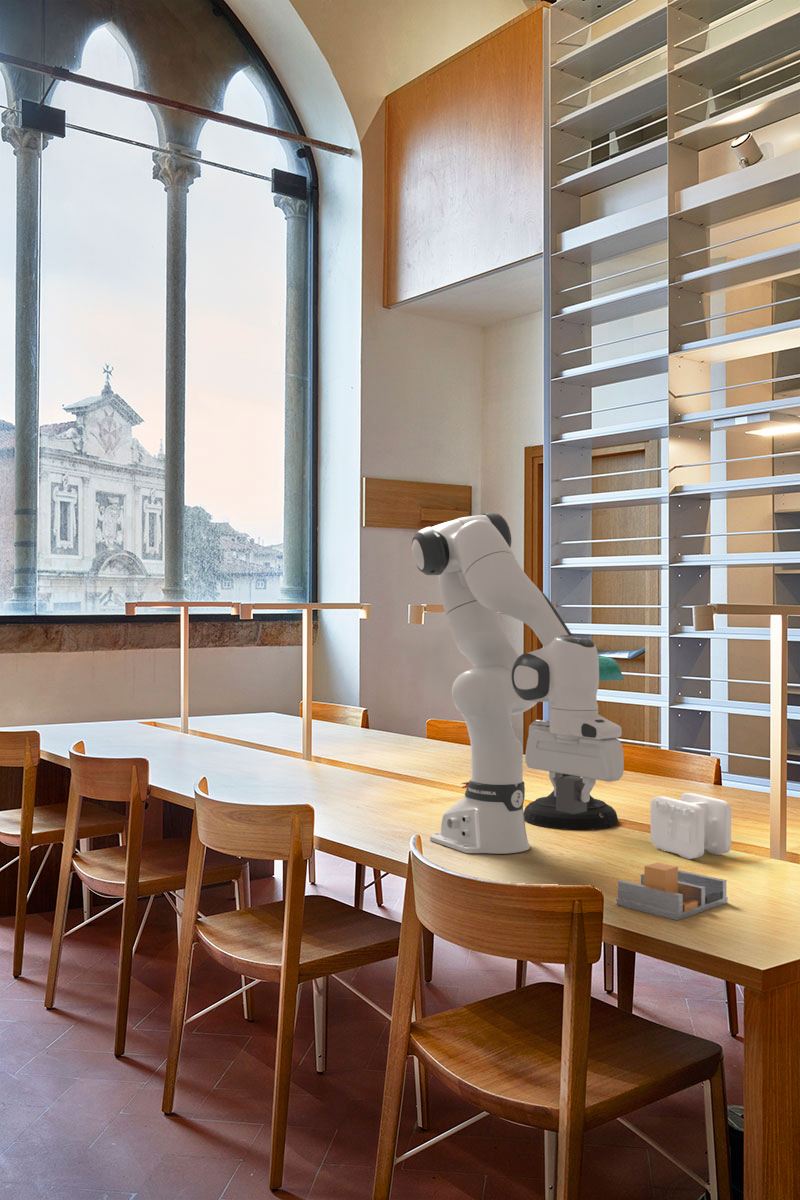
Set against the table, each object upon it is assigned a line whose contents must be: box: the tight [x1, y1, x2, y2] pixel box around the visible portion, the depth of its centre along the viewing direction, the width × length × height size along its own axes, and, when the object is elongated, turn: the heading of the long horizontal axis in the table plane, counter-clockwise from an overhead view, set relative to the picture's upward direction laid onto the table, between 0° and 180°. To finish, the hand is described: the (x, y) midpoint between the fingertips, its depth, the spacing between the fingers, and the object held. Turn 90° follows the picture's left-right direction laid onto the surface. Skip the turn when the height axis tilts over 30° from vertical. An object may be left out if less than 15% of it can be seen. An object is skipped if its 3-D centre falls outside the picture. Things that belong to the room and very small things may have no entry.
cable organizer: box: [649, 792, 732, 860], centre depth 217 cm, size 15×11×12 cm
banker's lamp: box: [523, 656, 625, 831], centre depth 250 cm, size 26×23×40 cm
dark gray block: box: [556, 776, 587, 814], centre depth 188 cm, size 4×4×6 cm
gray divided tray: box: [615, 869, 729, 921], centre depth 178 cm, size 12×16×4 cm
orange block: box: [644, 862, 679, 893], centre depth 175 cm, size 4×4×6 cm
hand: (571, 799), depth 188 cm, fingers closed on dark gray block, 4 cm apart
